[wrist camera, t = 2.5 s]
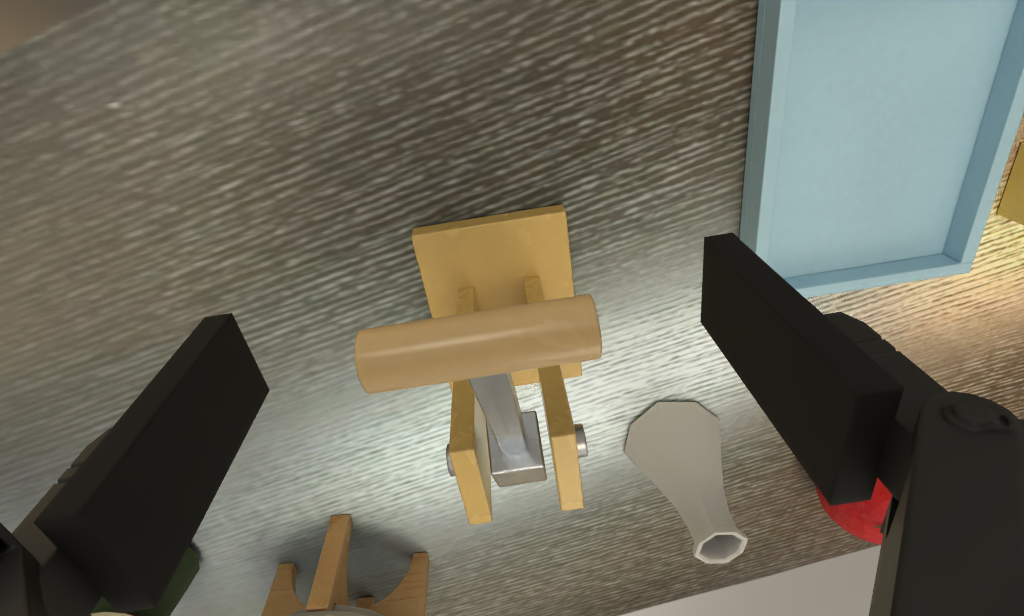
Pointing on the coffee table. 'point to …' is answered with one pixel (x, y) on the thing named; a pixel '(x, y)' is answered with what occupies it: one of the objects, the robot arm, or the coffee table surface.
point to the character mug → (177, 587)
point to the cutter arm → (486, 366)
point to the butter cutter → (495, 284)
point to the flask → (688, 473)
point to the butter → (1014, 191)
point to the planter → (345, 584)
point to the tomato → (861, 514)
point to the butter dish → (878, 136)
